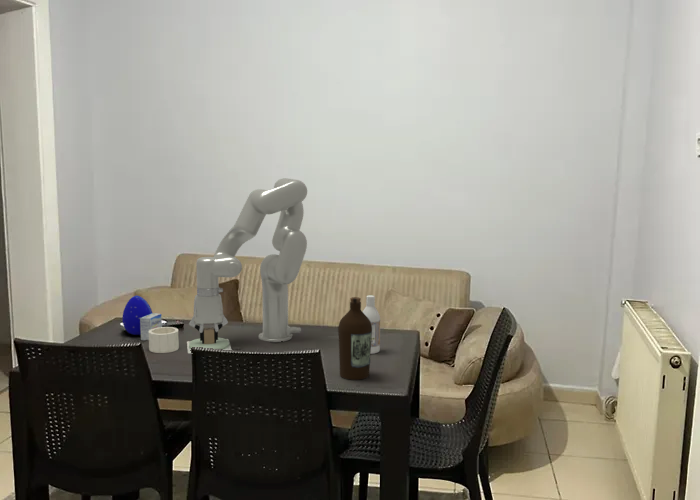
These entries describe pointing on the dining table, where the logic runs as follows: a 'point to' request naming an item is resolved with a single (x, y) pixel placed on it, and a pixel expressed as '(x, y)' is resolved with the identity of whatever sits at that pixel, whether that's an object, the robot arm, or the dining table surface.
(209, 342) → the lid
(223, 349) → the mat
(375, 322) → the bath foam
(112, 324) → the dining table surface
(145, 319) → the medicine box
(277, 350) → the dining table surface
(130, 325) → the ornament
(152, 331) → the bowl
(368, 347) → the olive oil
